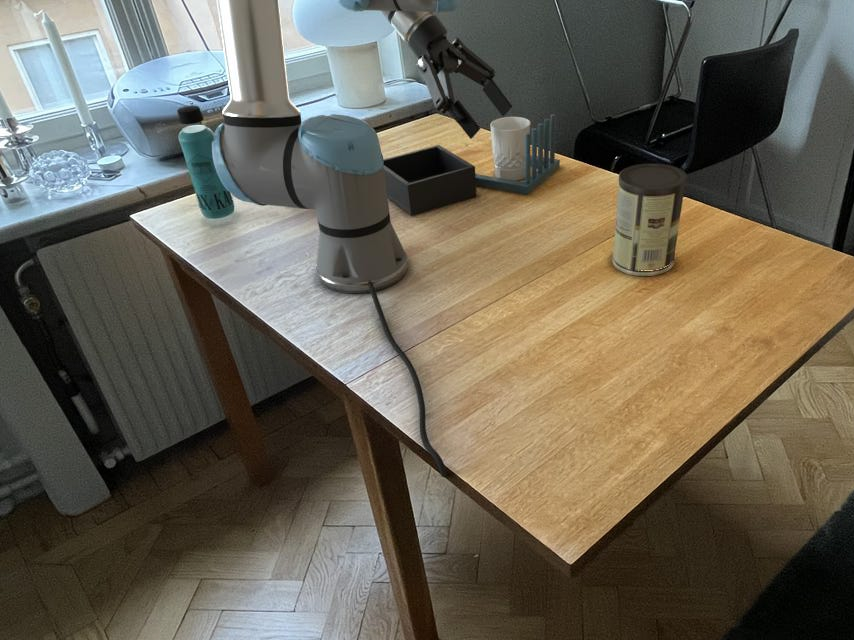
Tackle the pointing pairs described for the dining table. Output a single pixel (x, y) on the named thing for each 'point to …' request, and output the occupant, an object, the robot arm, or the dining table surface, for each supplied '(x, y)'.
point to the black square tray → (428, 179)
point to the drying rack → (530, 162)
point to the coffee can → (648, 218)
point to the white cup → (509, 147)
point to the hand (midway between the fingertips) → (492, 122)
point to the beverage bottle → (203, 165)
